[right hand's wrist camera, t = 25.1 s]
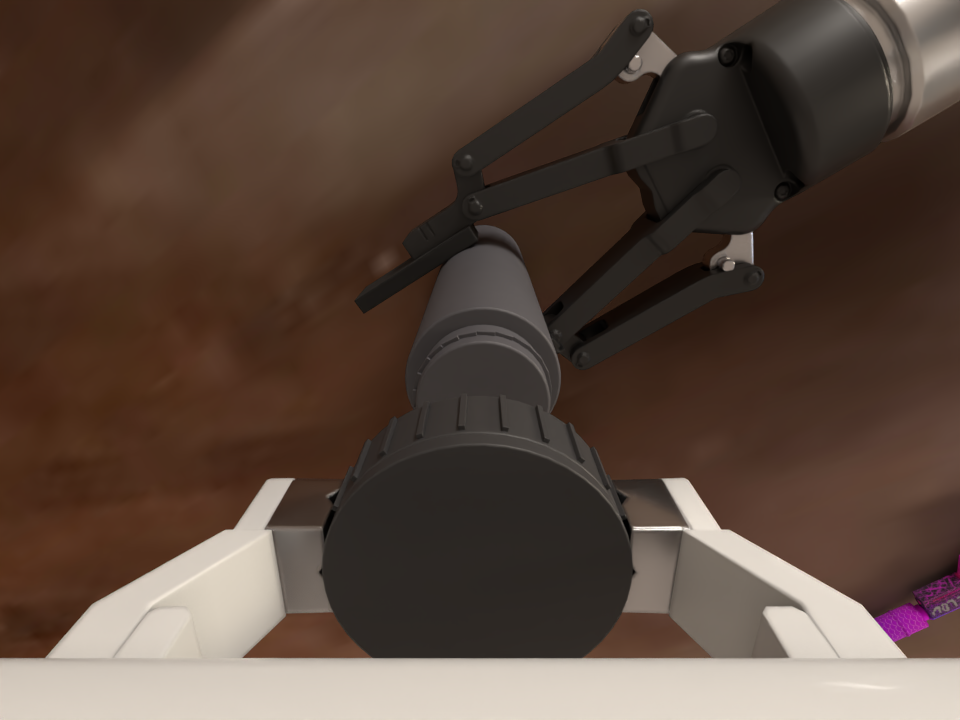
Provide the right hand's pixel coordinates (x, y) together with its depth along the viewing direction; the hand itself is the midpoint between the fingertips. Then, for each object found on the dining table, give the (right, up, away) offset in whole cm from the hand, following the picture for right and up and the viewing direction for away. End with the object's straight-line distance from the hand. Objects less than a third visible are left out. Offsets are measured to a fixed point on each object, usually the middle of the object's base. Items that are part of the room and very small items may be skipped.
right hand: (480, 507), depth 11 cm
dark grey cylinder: (0, +9, +22) cm, 23 cm away
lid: (0, -1, -1) cm, 2 cm away
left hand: (-4, +4, +17) cm, 18 cm away
